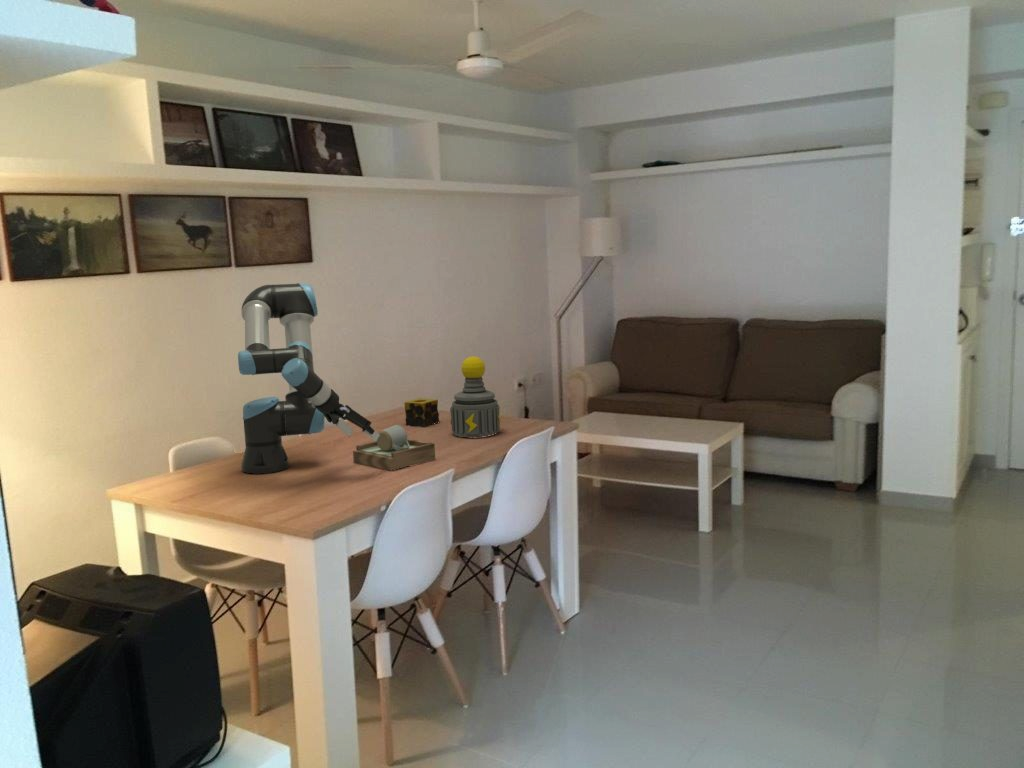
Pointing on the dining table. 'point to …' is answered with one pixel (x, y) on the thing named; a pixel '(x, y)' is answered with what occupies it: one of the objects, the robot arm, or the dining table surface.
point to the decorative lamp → (474, 404)
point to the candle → (421, 412)
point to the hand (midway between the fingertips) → (364, 435)
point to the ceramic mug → (393, 439)
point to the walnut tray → (394, 455)
